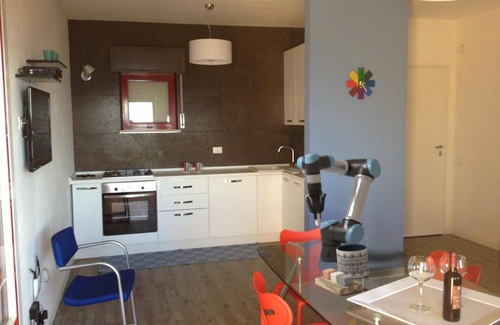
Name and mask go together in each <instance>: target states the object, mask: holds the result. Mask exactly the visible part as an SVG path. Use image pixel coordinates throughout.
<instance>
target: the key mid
mask: <svg viewBox="0 0 500 325" xmlns="http://www.w3.org/2000/svg"><path fill="white" fill-rule="evenodd" d="M330 275H331V281H332V282H334V283H336V284H337V283H339V278H338V277H339V276H343V275H345V274H344V273H342V272H339V271H338V270H337V272H334V273H331V274H330Z"/></svg>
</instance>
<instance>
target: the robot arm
mask: <svg viewBox="0 0 500 325" xmlns="http://www.w3.org/2000/svg"><path fill="white" fill-rule="evenodd" d="M296 165H297V168H298V169H300V170H303V171H305V172H306V174H305V176H306V182H307V184H306V186H307V190H308V191H307V194H306V196H304V200H305V201H306V204H307V207H308V210H309V211H308V212H309V214H313V220H314V221H315V226H317V227H319V228H320V229H319V232H320V241H321V248H320V251H319V252H320V253H319V260H320V261H321V260H322V261H321V262H326V263H332V262H334V263H335V262H337V251H336V248H337V247H339V246H342V244H344V245H347V244H359V243H361V242H362V240H363V238H364V236H365V229H364V226H363V223H362V220H361V219H362V216H363V212H364V209H365V204H366V202H367V198H368V195H369V191H370V187H371V185H372V184H373V183H375V179H377V178H379V177H380V175H381V173H382V168H381V164H380V162H379V160H377V159H376V158H371V157H367V158H352V159H339V160H335V157H334V156H333V155H331V154H326V155H319V154H318V153H315V152H314V153H308V154H307V153H306V154H305V155H304V156H299V158H297V161H296ZM321 172H327V173H336V174H338V175H339V176H343V177H344V176H346V177H349V178H350V177H351V178H354V179H355V180H356V181H355V183H354V187H353V191H352V194H351V197H350V202H349V205H348V209H347V212H346V215H345V216H344V217H342V218H341V219H342V220H341V222H340V220H339V219H330V220H324V221H322V222H321V219H322V213H323V212H324V211H325V203H326V201H325V200H326V197H327V193H324V192H323V190H322V189H323V188H322V182H321V181H322V177H321Z"/></svg>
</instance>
